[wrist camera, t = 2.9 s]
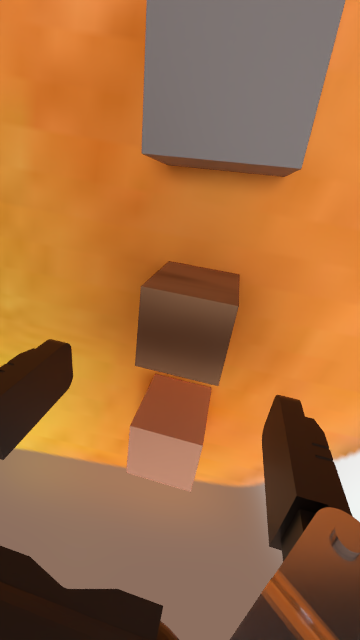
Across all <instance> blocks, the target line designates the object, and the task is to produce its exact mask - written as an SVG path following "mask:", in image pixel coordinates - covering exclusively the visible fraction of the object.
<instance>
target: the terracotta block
mask: <svg viewBox="0 0 360 640" xmlns="http://www.w3.org/2000/svg"><path fill="white" fill-rule="evenodd" d="M210 395H211V387H207V386H203V385H199V384H195V383H190V382H186V381H182V380H178V379H174V378H170V377H166V376H162V375H158V374H155V375H154V377H153V380H152V382H151V384H150V386H149V388H148V390H147V392H146V394H145V396H144V398H143V400H142V402H141V404H140V406H139V409H138V411H137V413H136V415H135V417H134V419H133V421H132V423H131V425H130V434H129V447H128V460H127V473H129V474H132V475H136V476H139V477H142V478H145V479H149V480H152V481H156V482H159V483H162V484H166V485H170V486H172V487H176V488H179V489H183V490H186V491H189V492H191V489H192V485H193V482H194V478H195V474H196V470H197V466H198V462H199V458H200V454H201V450H202V447H203V441H204V434H205V427H206V421H207V414H208V408H209V401H210Z"/></svg>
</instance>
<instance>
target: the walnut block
mask: <svg viewBox="0 0 360 640" xmlns="http://www.w3.org/2000/svg"><path fill="white" fill-rule="evenodd" d="M238 307H239V274H234V273H229V272H223V271H218V270H213V269H207V268H202V267H197V266H192V265H186V264H181V263H176V262H170V261H169V262H168V263H167V264H165V265H164V266H163V267H162V268H161V269H160V270H159V271H158V272H156V273H155V274H154V275H153V276H152V277H151V278H150V279H149V280H147V281H146V282H145V283H144V284H143V285H142V286H141V294H140V307H139V320H138V333H137V347H136V360H135V366H138V367H142V368H147V369H151V370H155V371H159V372H163V373H167V374H171V375H175V376H179V377H183V378H187V379H191V380H196V381H200V382H204V383H208V384H212V385H216V386H218V385H219V381H220V377H221V373H222V369H223V366H224V362H225V358H226V354H227V350H228V346H229V342H230V338H231V334H232V330H233V326H234V322H235V318H236V315H237V311H238Z"/></svg>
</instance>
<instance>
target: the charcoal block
mask: <svg viewBox="0 0 360 640" xmlns="http://www.w3.org/2000/svg"><path fill="white" fill-rule="evenodd" d="M344 4H345V0H147V12H146V42H145V71H144V100H143V129H142V154H144V155H146V156H149V157H151V158H153V159H155V160H158V161H160V162H162V163H164V164H167V165H174V166H183V167H193V168H203V169H213V170H223V171H233V172H243V173H253V174H263V175H272V176H282V177H285V176H287V175H289V174H291V173H293V172H296V171H298V170H300V169H301V168H302V164H303V160H304V156H305V153H306V149H307V145H308V141H309V137H310V134H311V130H312V126H313V122H314V118H315V114H316V111H317V107H318V103H319V99H320V95H321V92H322V88H323V84H324V80H325V76H326V72H327V69H328V65H329V61H330V57H331V53H332V50H333V46H334V42H335V38H336V34H337V31H338V27H339V23H340V19H341V15H342V11H343V8H344Z"/></svg>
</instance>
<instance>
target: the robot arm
mask: <svg viewBox="0 0 360 640" xmlns="http://www.w3.org/2000/svg"><path fill="white" fill-rule="evenodd" d="M72 378H73V368H72V352H71V346H70V344H68V343H64V342H60V341H56V340H52V339H49V340H47V341H46V342H44V343H43V344H41V345H40V346H39V347H37V348H36V349H34V348H33V349H31V350H28V351H26V352H23V353H21V354H19V355H17V356H16V357H14V358H13V359H11V360H10V361H9V362H8V363H7V364H4V365H3V366H1V367H0V459H2V460H4V459H5V457H6V456H7V455H8V454H9V453H10V452H11V451H12V450H13V449H14V448H15V447H16V446H17V445H18V443H19V442H20V441H21V440H22V439H23V438H24V437H25V436H26V435H27V434H28V433H29V431H30V430H31V429H32V428H33V427H34V426H35V425H36V424H37V423H38V422H39V420H40V419H41V418H42V417H43V416H44V415H45V414H46V413H47V412H48V411H49V409H50V408H51V407H52V406H53V405H54V404H55V403H56V402H57V401H58V400H59V399H60V397H61V396H62V395H63V394H64V393H65V392H66V391H67V390H68V388H69V387H70V385H71V382H72ZM262 450H263V464H264V478H265V492H266V506H267V521H268V534H269V546H270V547H273V548H276V549H279V550H282V554H283V563H282V565H281V566H280V568H279V569H278V571H277V572H276V574H275V575H274V577H273V578H271V580H270V581H269V583H268V584H267V586H266V587H265V588H264V590H263V591H262V593H261V594H260V596H259V597H258V599H257V600H256V602H255V603H254V605H253V606H252V608H251V609H250V611H249V612H248V613H247V615H246V616H245V618H244V619H243V621H242V622H241V624H240V625H239V627H238V628H237V630H236V631H235V633H234V634H233V636H232V637H231V639H230V640H360V522H359V521H357V520H356V519H355V518H354V517H353V516H352V514H351V512H350V508H349V506H348V502H347V500H346V496H345V494H344V491H343V488H342V485H341V482H340V479H339V476H338V473H337V470H336V467H335V464H334V462H333V458H332V455H331V452H330V450H329V446H328V443H327V440H326V437H325V434H324V432H323V431H322V429H321V428H320V427H319V425H318V424H317V423H316V421H315V420H314V419H312V418H308V417H305V416H304V412H303V408H302V405H301V402H300V400H297V399H293V398H289V397H285V396H281V395H276V397H275V399H274V401H273V404H272V406H271V409H270V412H269V414H268V417H267V420H266V422H265V425H264V429H263V435H262ZM162 609H163V606H162V605H159V604H156V603H154V602H151V601H148V600H145V599H143V598H140V597H138V596H135V595H132V594H129V593H127V592H124V591H121V590H119V589H66V588H64V587H62V586H61V585H60V584H59V583H58V582H57V581H55V580H54V579H53V578H52V577H51V576H50V575H49V574H48V573H47V572H46V571H45V570H44V569H42V568H41V567H40V566H39V565H38V564H37V563H36V562H35V561H34V560H33V559H32V558H31V557H29V556H26V555H24V554H21V553H19V552H16V551H13V550H10V549H8V548H5V547H2V546H0V640H179V639H178V638H177V637H176V635H175V634H174V633H173V632H172V631H171V630H170V629H169V628H168V627H167V626H166V625H164V623H162V622H161V621H160V619H161V614H162Z"/></svg>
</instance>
